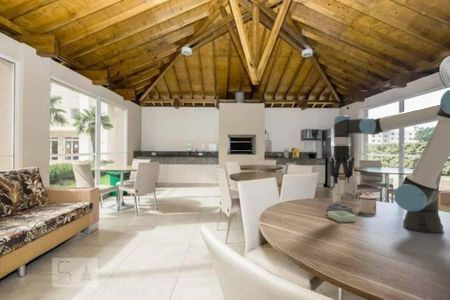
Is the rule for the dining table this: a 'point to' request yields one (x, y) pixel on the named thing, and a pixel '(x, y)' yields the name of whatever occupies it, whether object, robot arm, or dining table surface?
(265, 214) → the dining table surface
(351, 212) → the fuse block
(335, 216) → the parts tray
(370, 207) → the teacup with lid
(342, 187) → the cylinder
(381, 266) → the dining table surface
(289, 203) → the dining table surface
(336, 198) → the fuse
